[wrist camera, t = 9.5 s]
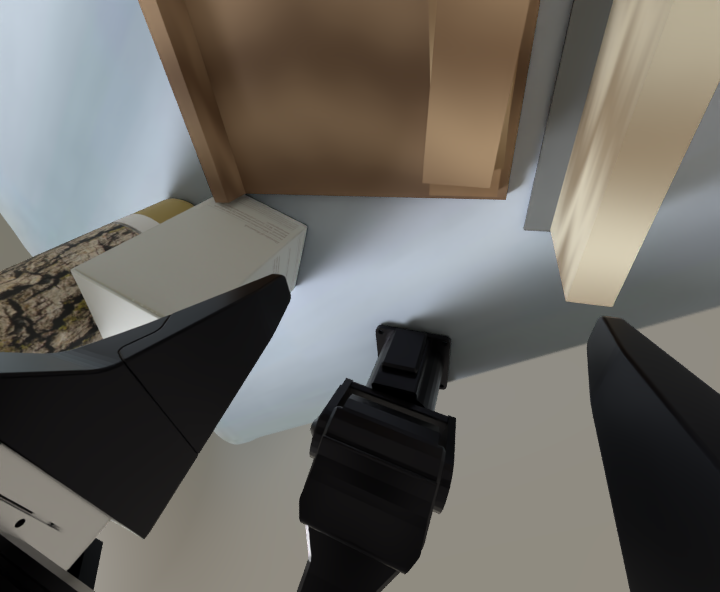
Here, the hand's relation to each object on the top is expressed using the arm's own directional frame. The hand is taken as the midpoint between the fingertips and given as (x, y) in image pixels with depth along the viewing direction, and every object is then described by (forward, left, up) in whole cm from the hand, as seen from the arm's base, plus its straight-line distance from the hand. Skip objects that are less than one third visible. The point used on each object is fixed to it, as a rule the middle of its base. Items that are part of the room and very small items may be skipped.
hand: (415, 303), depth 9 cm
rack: (+6, +7, -12) cm, 16 cm away
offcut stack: (+6, 0, -12) cm, 13 cm away
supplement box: (-6, +16, -13) cm, 21 cm away
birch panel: (+3, -6, -12) cm, 14 cm away
